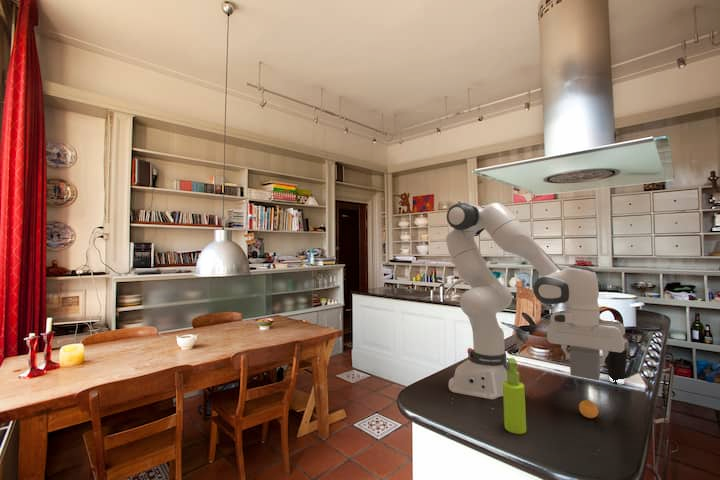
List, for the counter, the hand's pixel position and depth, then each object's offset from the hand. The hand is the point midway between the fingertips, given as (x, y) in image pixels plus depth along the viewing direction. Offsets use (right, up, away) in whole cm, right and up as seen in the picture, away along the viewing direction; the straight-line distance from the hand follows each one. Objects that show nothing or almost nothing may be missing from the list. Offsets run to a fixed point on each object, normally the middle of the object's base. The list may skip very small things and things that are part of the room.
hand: (584, 361), depth 107 cm
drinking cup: (+28, -17, +24) cm, 41 cm away
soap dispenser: (-24, -18, -5) cm, 31 cm away
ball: (+1, -15, -1) cm, 15 cm away
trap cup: (0, -4, 0) cm, 4 cm away
